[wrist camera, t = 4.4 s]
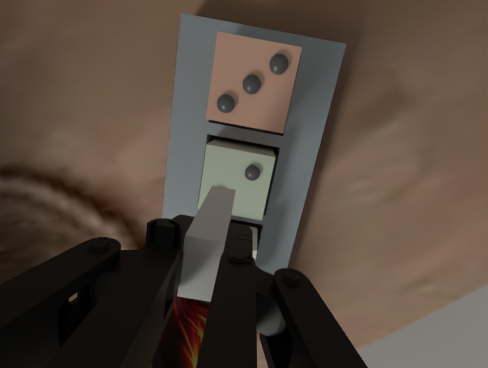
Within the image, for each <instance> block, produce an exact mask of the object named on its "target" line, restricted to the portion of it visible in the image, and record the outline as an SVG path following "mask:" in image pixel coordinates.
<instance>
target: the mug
mask: <svg viewBox="0 0 488 368" xmlns="http://www.w3.org/2000/svg"><path fill="white" fill-rule="evenodd" d="M177 294H178V289H177V291H176V294H175V299H174V306H173V309H172V311H171V314H170V316H169V319H168V321H167V324H166V326H165V329H164V331H163V334H162V336H161V338H160V341H159V343H158V346H157V348H156V351H155V353H154V356H153V358H152V361H151V363H150V366H149V368H196V365H197V360H198V356H199V351H200V347H201V342H202V338H203V333H204V329H205V325H206V320H207V316H208V311H209V307H210V305H209V304H206V303H203V302H200V301H193V300H186V298H185V297H179V296H177Z"/></svg>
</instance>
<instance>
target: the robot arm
mask: <svg viewBox="0 0 488 368" xmlns="http://www.w3.org/2000/svg"><path fill="white" fill-rule="evenodd" d="M235 193H236V190H234V189H228V188H223V187H217V186H212V187H211V189H210V191H209V192H208V194H207V196H206V198H205V200H204V201H203V203H202V205H201V207H200V209H199V211H198V212H197V214H196V216H195V217H193V216H188V215H182V214H180V215H178V216H176V217H174V218H173V219H167V218H160V219H155V220H151V221H150V222H148V223H147V233H146V243H145V244H144V246H143V247H142V248H141V249H138V250H121V244H120V243H119V241H117V240H115V239H112V238H107V237H104V238H103V237H98V238H94V239H90V240H87V241H85V242H83V243H81V244H79V245H77V246H75V247H73V248H71V249H69V250H67V251H65V252H63V253H61V254H59V255H57V256H55V257H53V258H51V259H49V260H47V261H45V262H43V263H42V264H40V265H38V266H36V267H34V268H32V269H30V270H28V271H26V272H24V273H22V274H20V275H18V276H16V277H14V278H12V279H10V280H8V281H6V282H4V283H2V284H0V368H149V366H150V363H151V361H152V358H153V356H154V353H155V351H156V348H157V346H158V343H159V341H160V338H161V336H162V334H163V331H164V329H165V326H166V324H167V321H168V319H169V316H170V314H171V311H172V309H173V306H174V299H175V294H176V291H177V289H178V294H177V296H179V297H185V298H190V299H196V300H202V301H208V302H210V307H209V311H208V316H207V320H206V325H205V329H204V333H203V338H202V342H201V347H200V351H199V356H198V360H197V365H196V368H257V336H256V331H257V332H259V333H260V341H261V344H262V347H263V351H264V354H265V358H266V361H267V364H268V368H368V367H367V366H366V364H365V363H364V361H363V360H362V358H361V357H360V355H359V354H358V352H357V351H356V349H355V348H354V346H353V345H352V343H351V342H350V340H349V339H348V337H347V336H346V334H345V333H344V331H343V330H342V328H341V327H340V325H339V324H338V322H337V321H336V319H335V318H334V316H333V315H332V313H331V312H330V310H329V309H328V307H327V306H326V304H325V303H324V301H323V300H322V298H321V297H320V295H319V294H318V292H317V291H316V289H315V288H314V286H313V285H312V283H311V282H310V280H309V279H308V278H307V277H306V276H305V275H304V274H302V273H301V272H299V271H297V270H294V269H289V268H281V269H278V270H277V271H275V273H274V275H272V274H270V273H267V272H265V271H263V270H261V269H260V268H258V267H257V266H256V265H255V259H254V257H253V231H252V229H251V228H250V227H249V226H248V225H242V224H237V223H231V222H230V220H231V215H232V209H233V204H234V198H235ZM75 293H77V298H75V299H74V300H72V301H70V302H69V298H70V297H71V296H73V295H74V294H75Z"/></svg>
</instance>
